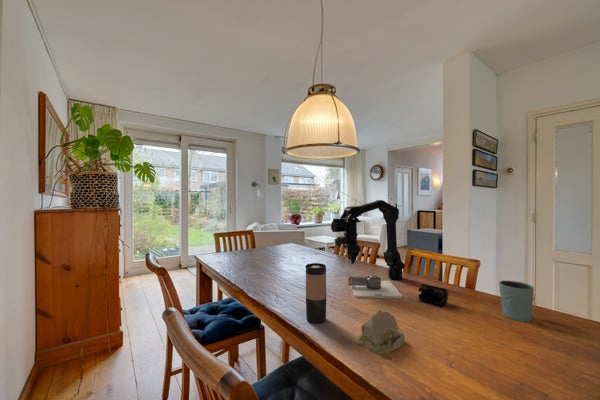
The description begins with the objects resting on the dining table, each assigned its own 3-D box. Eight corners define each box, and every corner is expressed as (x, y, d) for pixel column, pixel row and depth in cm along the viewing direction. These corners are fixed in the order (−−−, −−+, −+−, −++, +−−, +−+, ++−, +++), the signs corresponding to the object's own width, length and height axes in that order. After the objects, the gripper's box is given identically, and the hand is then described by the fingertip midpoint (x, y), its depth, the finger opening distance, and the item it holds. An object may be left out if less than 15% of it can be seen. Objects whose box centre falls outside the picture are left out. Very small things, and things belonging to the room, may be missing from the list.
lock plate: (389, 282, 136) (389, 280, 136) (402, 298, 115) (402, 295, 115) (348, 282, 137) (348, 279, 137) (355, 297, 116) (355, 294, 116)
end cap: (448, 303, 110) (448, 287, 110) (442, 308, 105) (442, 291, 105) (424, 296, 117) (424, 281, 117) (417, 301, 112) (417, 285, 112)
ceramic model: (374, 358, 73) (374, 323, 73) (350, 338, 83) (350, 307, 83) (411, 346, 79) (411, 313, 79) (384, 329, 89) (384, 300, 89)
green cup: (525, 325, 91) (525, 291, 91) (493, 313, 100) (493, 282, 100) (539, 318, 95) (539, 286, 95) (506, 308, 104) (507, 278, 104)
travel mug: (328, 316, 98) (328, 263, 98) (323, 326, 91) (323, 269, 91) (309, 313, 101) (308, 262, 100) (303, 322, 93) (302, 267, 93)
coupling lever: (378, 284, 129) (378, 274, 129) (382, 289, 122) (382, 278, 122) (347, 284, 130) (347, 273, 130) (348, 289, 123) (348, 278, 123)
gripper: (333, 229, 142) (333, 257, 142) (337, 233, 123) (337, 266, 123) (353, 229, 142) (353, 257, 142) (360, 233, 123) (360, 266, 123)
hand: (351, 261), depth 133 cm, fingers open, 8 cm apart
